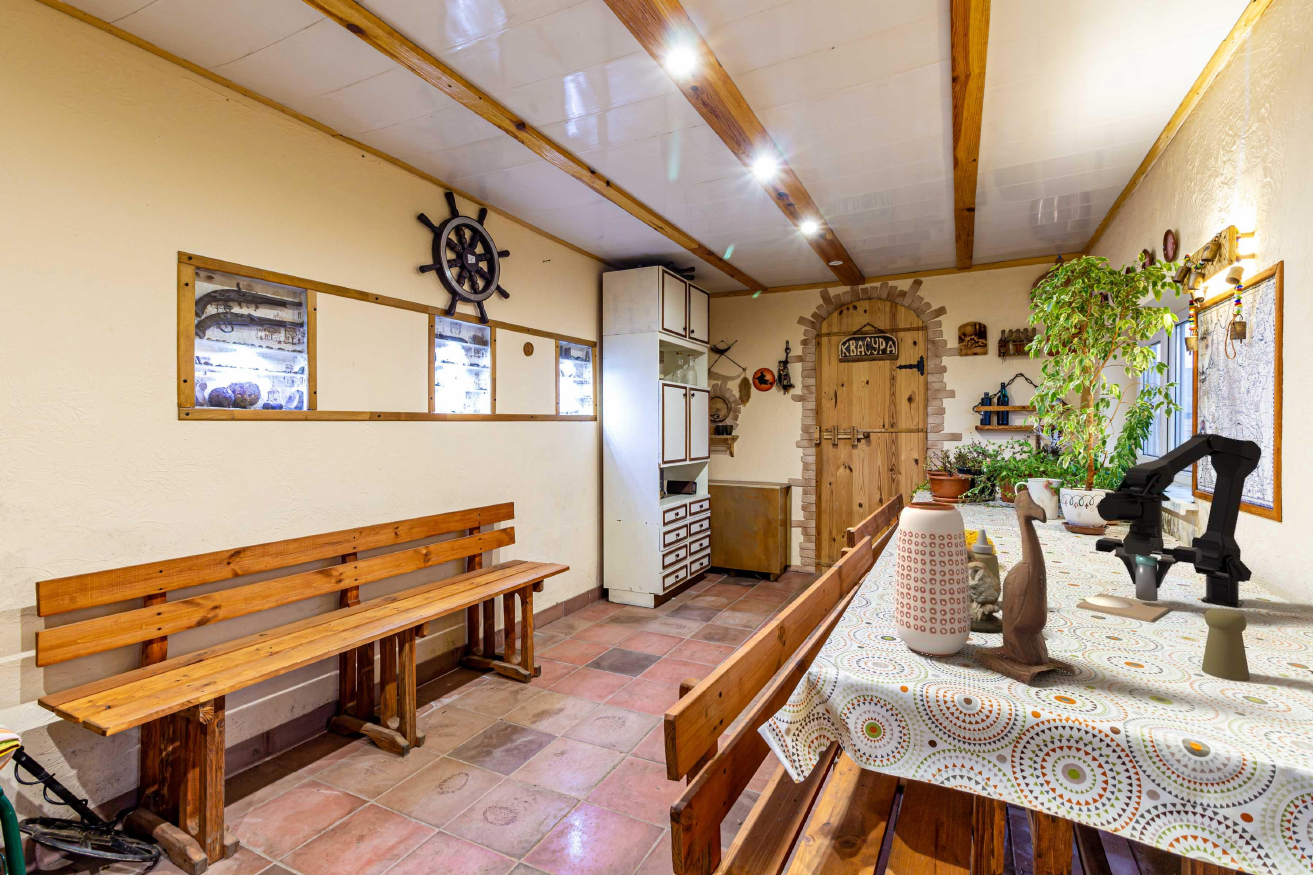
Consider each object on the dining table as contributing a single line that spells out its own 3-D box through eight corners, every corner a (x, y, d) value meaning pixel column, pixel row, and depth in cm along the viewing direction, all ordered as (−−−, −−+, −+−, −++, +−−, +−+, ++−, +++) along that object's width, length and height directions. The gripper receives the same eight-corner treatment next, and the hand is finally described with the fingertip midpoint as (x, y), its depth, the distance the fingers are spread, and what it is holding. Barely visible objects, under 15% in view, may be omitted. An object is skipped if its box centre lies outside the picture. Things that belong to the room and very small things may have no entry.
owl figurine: (907, 616, 136) (907, 542, 136) (935, 607, 142) (934, 536, 142) (989, 637, 121) (988, 554, 121) (1015, 626, 128) (1015, 547, 128)
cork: (1260, 682, 98) (1260, 616, 98) (1217, 679, 100) (1217, 614, 100) (1232, 668, 104) (1232, 605, 104) (1192, 665, 106) (1192, 604, 106)
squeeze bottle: (997, 600, 147) (997, 528, 146) (1005, 609, 139) (1004, 533, 139) (961, 597, 149) (961, 526, 149) (966, 606, 142) (966, 531, 142)
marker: (1138, 595, 143) (1138, 554, 143) (1160, 599, 140) (1160, 556, 139) (1132, 598, 140) (1132, 556, 140) (1154, 602, 137) (1154, 559, 137)
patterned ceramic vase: (939, 667, 106) (938, 510, 106) (880, 643, 118) (879, 503, 118) (986, 653, 112) (985, 505, 112) (925, 632, 124) (924, 498, 124)
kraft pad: (1098, 594, 150) (1098, 592, 150) (1172, 608, 139) (1172, 605, 139) (1073, 606, 141) (1073, 603, 141) (1150, 622, 129) (1150, 618, 129)
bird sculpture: (1034, 690, 97) (1040, 496, 96) (971, 662, 108) (976, 488, 107) (1077, 678, 102) (1083, 493, 101) (1012, 653, 113) (1017, 486, 111)
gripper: (1086, 519, 143) (1087, 583, 143) (1189, 528, 128) (1189, 601, 128) (1103, 514, 149) (1103, 576, 149) (1202, 523, 134) (1202, 592, 134)
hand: (1146, 585), depth 140 cm, fingers closed on marker, 4 cm apart
